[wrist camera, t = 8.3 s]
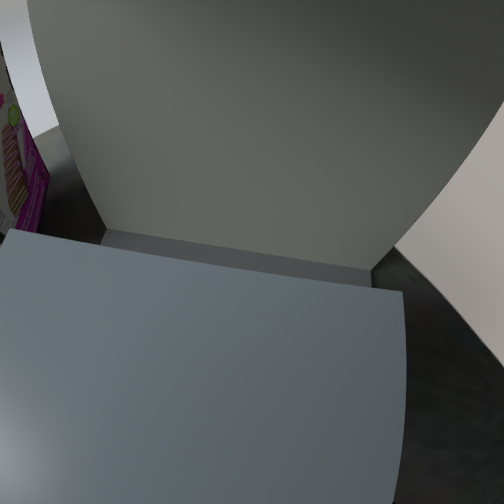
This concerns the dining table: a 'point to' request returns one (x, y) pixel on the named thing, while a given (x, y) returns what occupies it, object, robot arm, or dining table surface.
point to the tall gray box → (192, 381)
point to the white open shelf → (269, 121)
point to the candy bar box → (18, 165)
